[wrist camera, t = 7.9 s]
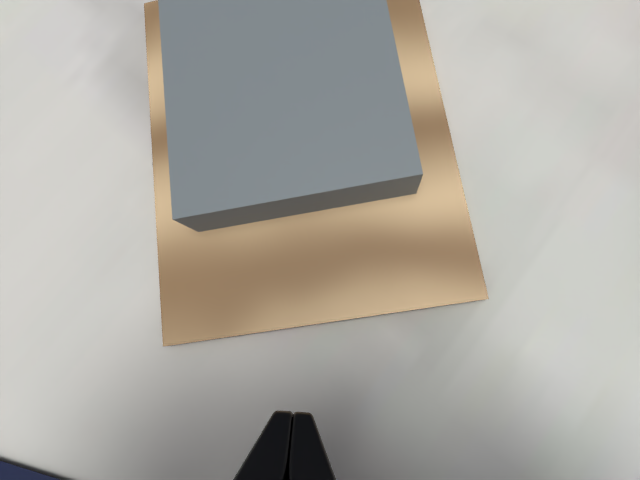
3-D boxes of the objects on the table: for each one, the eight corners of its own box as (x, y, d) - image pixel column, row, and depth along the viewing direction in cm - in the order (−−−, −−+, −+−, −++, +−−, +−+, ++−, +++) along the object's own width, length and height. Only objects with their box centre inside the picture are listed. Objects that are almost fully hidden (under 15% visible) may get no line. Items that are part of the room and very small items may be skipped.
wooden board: (485, 299, 16) (488, 298, 16) (168, 345, 18) (163, 346, 17) (404, -51, 20) (405, -61, 19) (149, 10, 21) (143, 3, 21)
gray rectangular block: (423, 173, 15) (369, -81, 17) (172, 219, 16) (156, -27, 18) (416, 193, 17) (369, -33, 19) (198, 232, 18) (181, 12, 20)
